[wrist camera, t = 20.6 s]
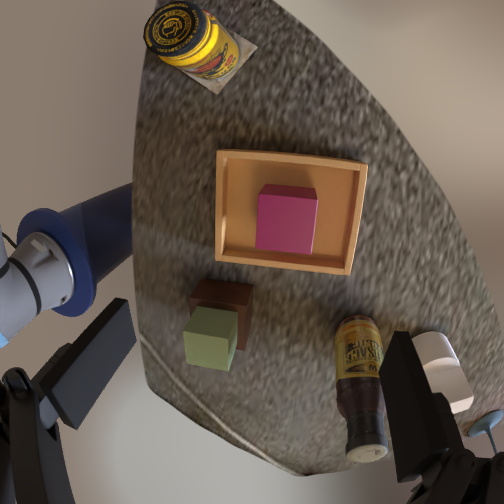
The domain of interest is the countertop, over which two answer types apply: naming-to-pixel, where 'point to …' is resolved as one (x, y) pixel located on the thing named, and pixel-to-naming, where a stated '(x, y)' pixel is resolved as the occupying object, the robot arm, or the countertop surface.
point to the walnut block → (226, 303)
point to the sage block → (211, 338)
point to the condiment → (196, 44)
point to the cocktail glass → (486, 425)
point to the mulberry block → (286, 218)
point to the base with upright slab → (443, 369)
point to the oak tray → (291, 174)
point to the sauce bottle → (360, 387)
